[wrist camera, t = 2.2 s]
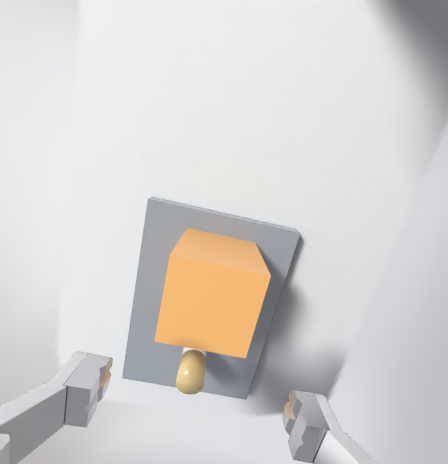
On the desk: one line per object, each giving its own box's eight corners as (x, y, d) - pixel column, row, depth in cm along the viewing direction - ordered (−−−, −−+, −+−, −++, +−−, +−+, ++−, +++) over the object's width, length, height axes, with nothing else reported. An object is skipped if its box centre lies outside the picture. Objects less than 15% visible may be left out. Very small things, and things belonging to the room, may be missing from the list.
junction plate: (153, 196, 21) (127, 206, 16) (295, 229, 22) (321, 249, 16) (127, 366, 26) (101, 421, 20) (245, 387, 27) (251, 445, 21)
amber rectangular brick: (187, 227, 21) (169, 254, 14) (255, 242, 21) (271, 276, 14) (175, 289, 22) (154, 341, 15) (238, 302, 23) (245, 358, 16)
